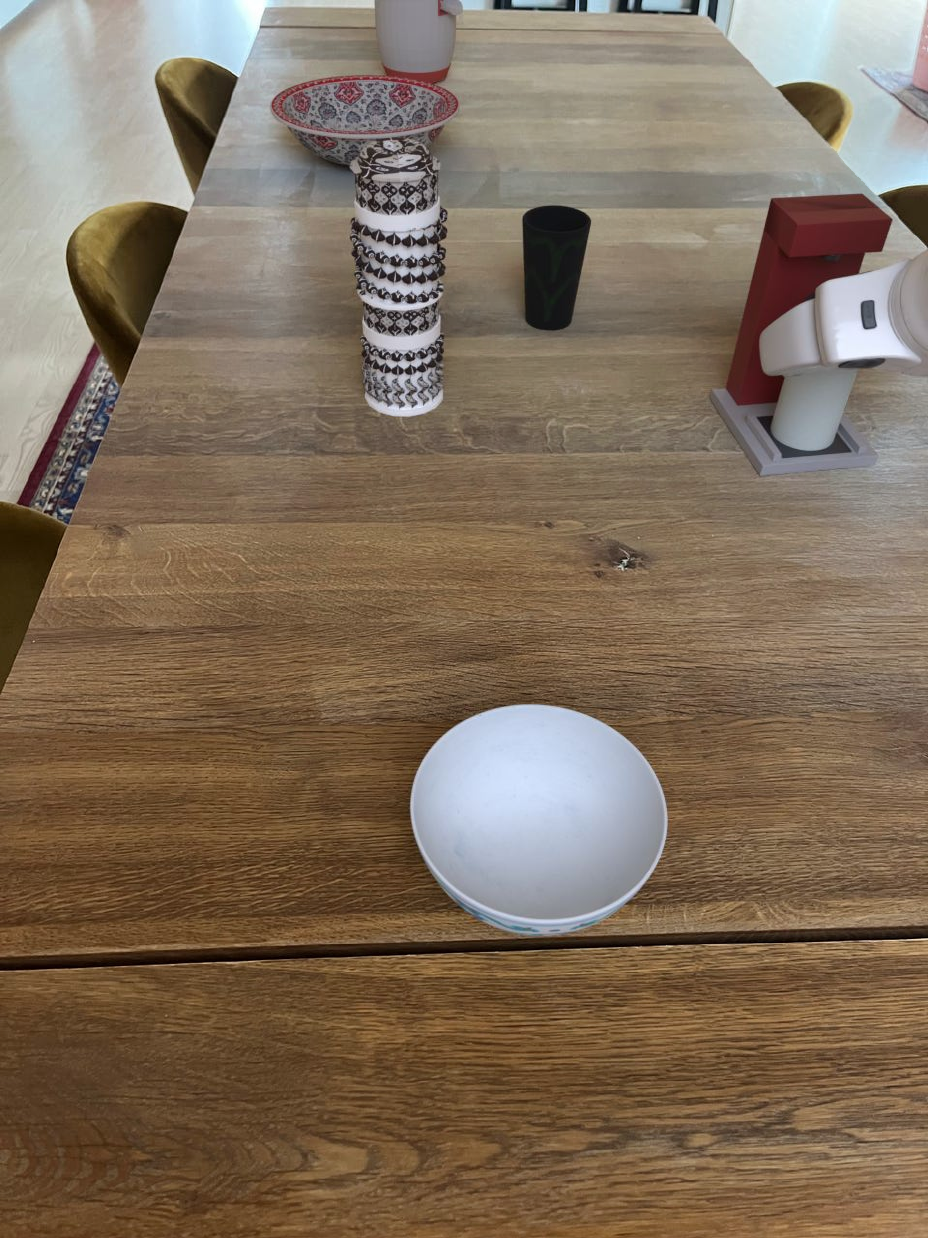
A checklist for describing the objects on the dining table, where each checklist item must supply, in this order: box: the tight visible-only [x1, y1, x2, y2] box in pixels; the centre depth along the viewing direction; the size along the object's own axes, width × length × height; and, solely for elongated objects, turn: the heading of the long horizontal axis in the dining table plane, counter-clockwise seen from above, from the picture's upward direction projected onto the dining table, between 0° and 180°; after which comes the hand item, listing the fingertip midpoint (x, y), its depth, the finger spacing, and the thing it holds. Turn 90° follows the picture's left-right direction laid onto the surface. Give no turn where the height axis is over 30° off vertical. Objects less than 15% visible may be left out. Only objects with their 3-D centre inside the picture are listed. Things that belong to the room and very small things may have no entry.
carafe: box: [771, 293, 859, 451], centre depth 89 cm, size 6×6×14 cm
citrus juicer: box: [374, 0, 464, 84], centre depth 174 cm, size 16×17×20 cm
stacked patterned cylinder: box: [349, 138, 449, 418], centre depth 92 cm, size 9×9×25 cm
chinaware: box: [409, 703, 669, 937], centre depth 58 cm, size 15×15×8 cm
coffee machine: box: [709, 193, 894, 477], centre depth 89 cm, size 14×12×21 cm
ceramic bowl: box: [269, 74, 461, 166], centre depth 148 cm, size 29×29×8 cm
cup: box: [521, 205, 592, 331], centre depth 109 cm, size 8×8×12 cm
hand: (837, 364), depth 86 cm, fingers open, 8 cm apart
